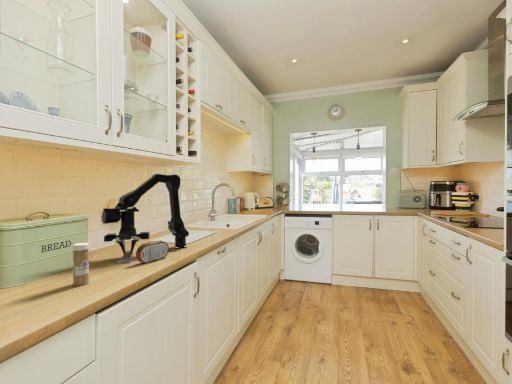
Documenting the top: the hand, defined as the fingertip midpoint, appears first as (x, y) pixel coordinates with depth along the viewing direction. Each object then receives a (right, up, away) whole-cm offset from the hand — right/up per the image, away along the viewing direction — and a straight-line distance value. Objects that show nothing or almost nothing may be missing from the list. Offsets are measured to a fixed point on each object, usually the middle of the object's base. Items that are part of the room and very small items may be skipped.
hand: (128, 254), depth 119 cm
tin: (+15, -1, -7) cm, 16 cm away
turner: (+1, -1, -3) cm, 3 cm away
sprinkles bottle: (+2, -1, -34) cm, 34 cm away
